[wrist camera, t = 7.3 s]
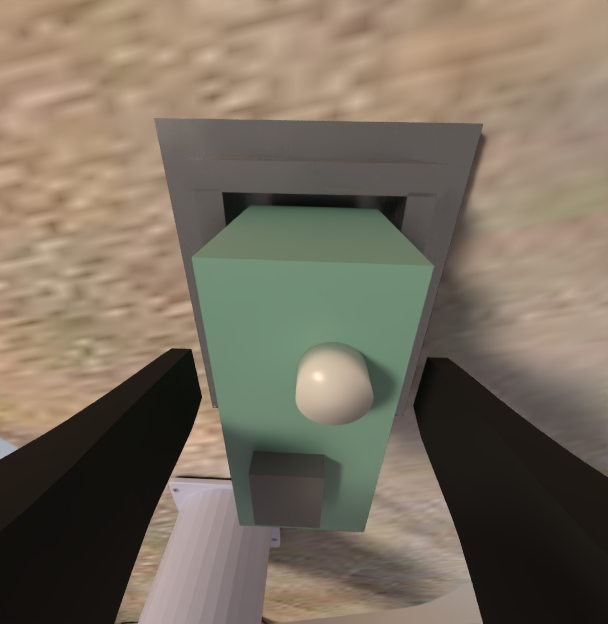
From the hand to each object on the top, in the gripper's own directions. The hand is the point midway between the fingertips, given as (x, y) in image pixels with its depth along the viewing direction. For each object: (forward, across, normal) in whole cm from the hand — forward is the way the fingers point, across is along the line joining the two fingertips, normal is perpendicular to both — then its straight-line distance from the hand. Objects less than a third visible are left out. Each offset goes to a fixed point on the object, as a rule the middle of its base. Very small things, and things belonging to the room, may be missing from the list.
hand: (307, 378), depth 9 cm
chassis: (+5, 0, 0) cm, 5 cm away
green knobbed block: (+3, 0, 0) cm, 3 cm away
